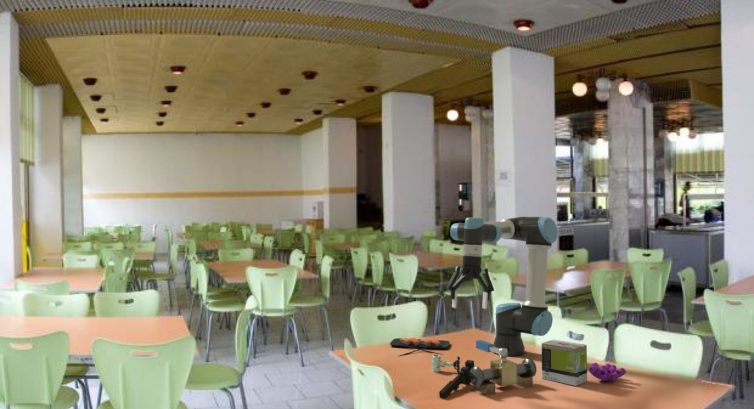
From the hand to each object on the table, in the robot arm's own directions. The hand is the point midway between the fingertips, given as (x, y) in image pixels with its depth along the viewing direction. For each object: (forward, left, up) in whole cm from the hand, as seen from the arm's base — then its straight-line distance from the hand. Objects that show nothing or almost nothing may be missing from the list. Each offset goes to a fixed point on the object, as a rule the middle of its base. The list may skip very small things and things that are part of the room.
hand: (469, 308), depth 241 cm
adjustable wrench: (+12, +9, -29) cm, 33 cm away
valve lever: (-5, +8, -17) cm, 19 cm away
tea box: (-33, +18, -29) cm, 48 cm away
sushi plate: (-5, -51, -29) cm, 59 cm away
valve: (+3, -13, -29) cm, 32 cm away
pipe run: (-5, +15, -29) cm, 33 cm away
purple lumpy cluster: (-47, +27, -29) cm, 61 cm away
